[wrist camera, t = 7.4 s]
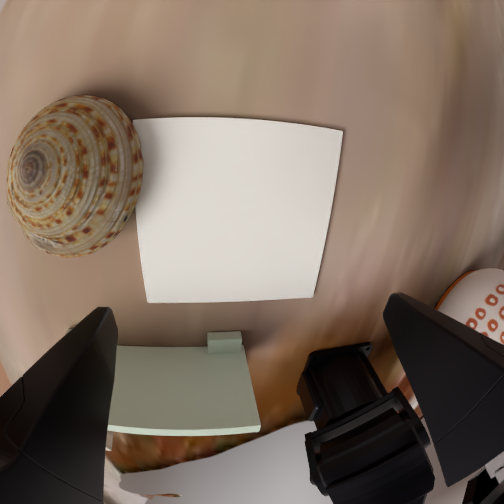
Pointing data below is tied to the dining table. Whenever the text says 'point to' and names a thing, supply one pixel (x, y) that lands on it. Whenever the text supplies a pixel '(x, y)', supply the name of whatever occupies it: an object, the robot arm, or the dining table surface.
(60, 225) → the seashell
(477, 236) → the dining table surface
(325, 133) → the tile
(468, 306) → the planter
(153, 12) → the dining table surface
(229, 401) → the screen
